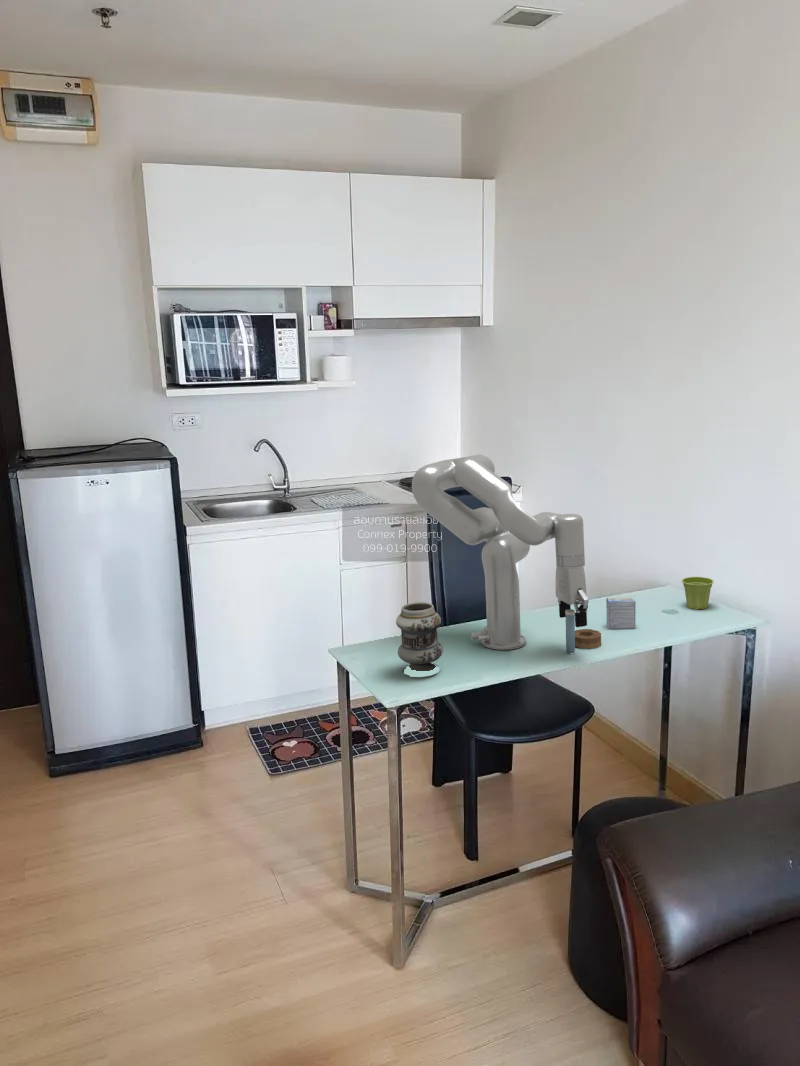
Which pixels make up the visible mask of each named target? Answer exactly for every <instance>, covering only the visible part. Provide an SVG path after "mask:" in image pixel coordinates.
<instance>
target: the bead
mask: <svg viewBox="0 0 800 1066" xmlns="http://www.w3.org/2000/svg"><path fill="white" fill-rule="evenodd" d="M575 646H576V647H575V648H577V647H580V648H579V649H581V648H587V649H586V650H592V649H591V648H593V649H597V648H599V647H601V646H602V632H600V631H599V630H595V629H591V628H590V629H587V628H582V629H575Z"/></svg>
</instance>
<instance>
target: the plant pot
mask: <svg viewBox="0 0 800 1066" xmlns="http://www.w3.org/2000/svg"><path fill="white" fill-rule="evenodd" d="M681 583H682V585H683V587H684V593H685V599H686V601H685V602H686V606H687V608H689V609H690V608H691V610H705V609H707V608H709V607H708V605H709V602H710V595H711V590H712V589H711V588H712V587H713V584H714V579H712V578H709V577H702V576H689V577H684V578H683V579H681Z"/></svg>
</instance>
